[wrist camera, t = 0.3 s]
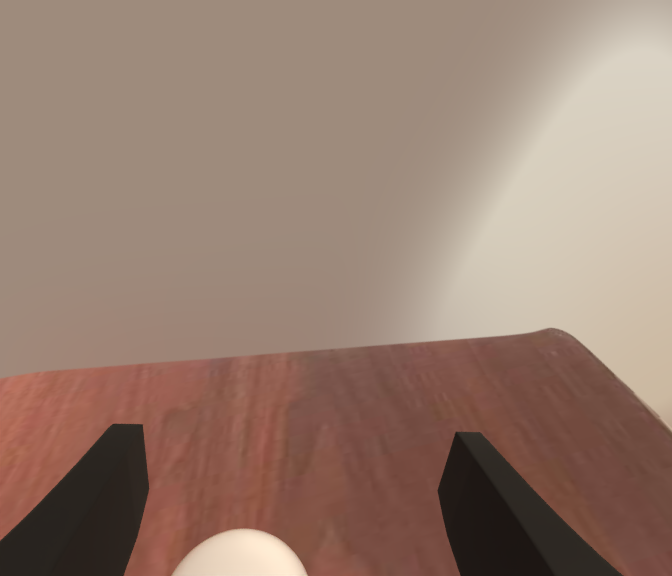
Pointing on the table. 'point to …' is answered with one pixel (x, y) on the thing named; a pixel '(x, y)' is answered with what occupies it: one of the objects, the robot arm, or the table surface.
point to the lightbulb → (241, 556)
